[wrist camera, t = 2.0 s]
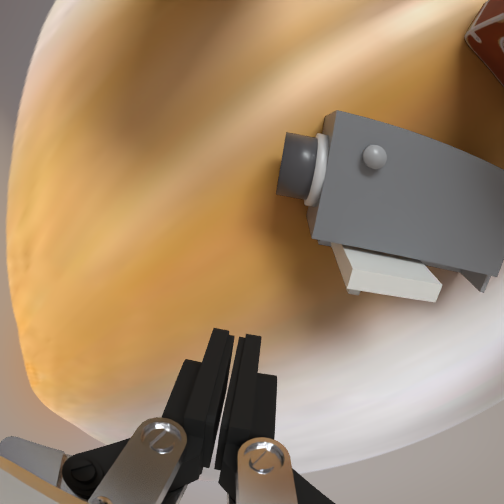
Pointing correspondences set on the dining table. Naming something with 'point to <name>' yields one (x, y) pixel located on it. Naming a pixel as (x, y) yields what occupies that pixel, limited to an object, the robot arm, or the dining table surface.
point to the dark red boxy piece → (489, 36)
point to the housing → (398, 195)
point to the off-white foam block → (385, 273)
